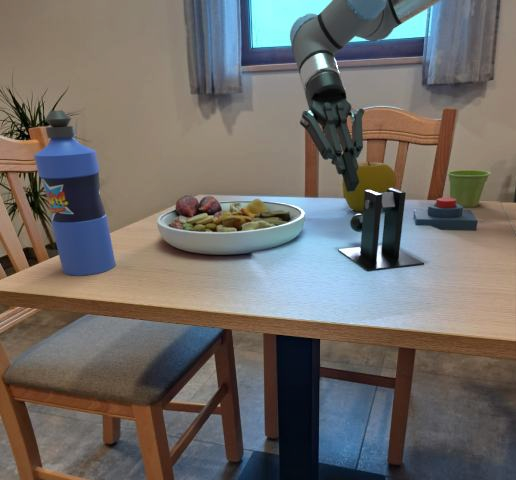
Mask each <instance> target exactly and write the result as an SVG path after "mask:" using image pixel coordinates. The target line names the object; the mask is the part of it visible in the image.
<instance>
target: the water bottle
mask: <svg viewBox="0 0 516 480" xmlns="http://www.w3.org/2000/svg"><path fill="white" fill-rule="evenodd" d="M44 120H45V121H46V123H47V124H49V125H50V126H46V127H45V133H46V136H47V139H50V140H49V141H48V143H47V145H46V146H44V147H43V148H42V149H40V150H39V151H37V152H35V153H34V154H33V157H34V161H35V166H36V170H37V173H38V177H39V178H40V180H41V183H42V186H43V188H44V191H45V195H46V197H47V200H48V202H49V204H48V205H49V212H50V222H51V228H52V231H53V236H54V240H55V244H56V249H57V253H58V257H59V261H60V265H61V269H62V273H64V274H65V275H68V276H78V277H79V276H80V277H81V276H90V275H91V276H92V275H96V274H101V273H105V272H107V271H110V270H112V269H114V268H115V267H116V259H115V254H114V248H113V243H112V242H113V241H112V238H111V237H112V236H111V231H110V227H109V221H108V216H107V214H106V209H105V207H104V205H103V201H102V197H101V188H100V187H101V186H100V166H99V161H98V156H97V151H96V150H95V149H93V148H90V147H88V146H86V145H83V144H81V143H80V142H79V141H78V140H77V139H76V138H75V137H77V134H76V129H75V125H69V124H70V123H71V121H72V117H71V116H70V115H68V113H66V112H65V111H64V110H50V111H49V112H48V114H47V115H46V117H45V118H44Z"/></svg>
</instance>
